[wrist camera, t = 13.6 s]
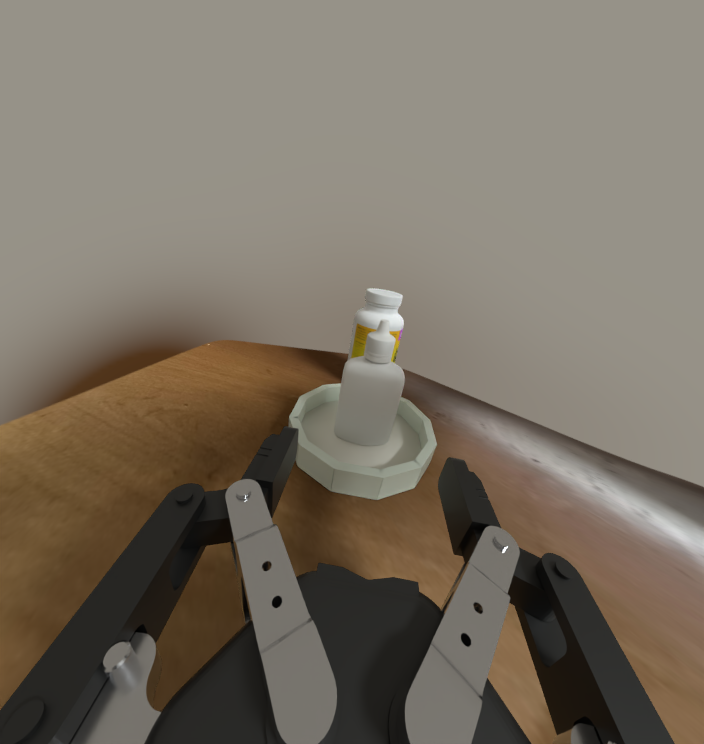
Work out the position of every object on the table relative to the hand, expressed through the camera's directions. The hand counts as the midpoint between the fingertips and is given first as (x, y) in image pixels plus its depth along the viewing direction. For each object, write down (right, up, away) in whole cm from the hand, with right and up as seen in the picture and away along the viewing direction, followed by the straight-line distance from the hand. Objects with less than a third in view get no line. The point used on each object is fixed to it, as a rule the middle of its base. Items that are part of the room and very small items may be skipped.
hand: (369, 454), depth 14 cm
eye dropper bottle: (0, -2, +13) cm, 13 cm away
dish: (0, -2, +13) cm, 13 cm away
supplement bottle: (+1, +3, +25) cm, 25 cm away
